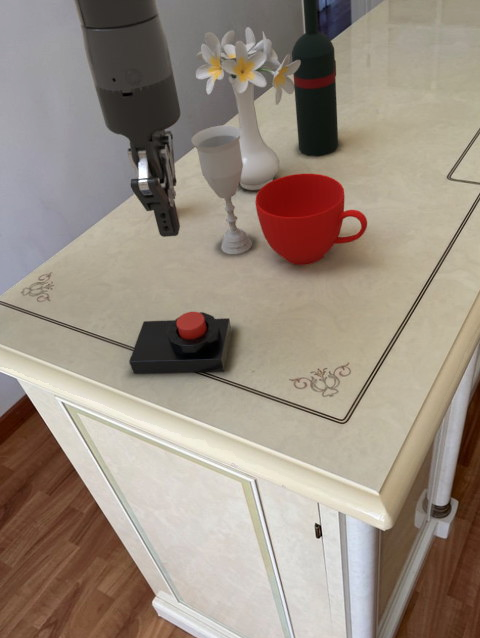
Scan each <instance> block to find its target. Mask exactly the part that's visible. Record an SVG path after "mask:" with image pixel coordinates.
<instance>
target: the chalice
mask: <svg viewBox="0 0 480 638" xmlns="http://www.w3.org/2000/svg"><path fill="white" fill-rule="evenodd" d="M240 135H241V130H240V127H238V126H235V125H229V124H228V125H225V124H224V125H216V126H211V127H207V128H205V129H202V130H199V131H198V132H196V133H195V134H194V135H193V136H192V137H191V143H192V145H193V146H194V147H195V149H196V152H197V155H198V158H199V159H198V160H199V165H200V169H201V173H202V177H204V180H205V181H206V182H207V183H206V184H208V186H209V188H211V190H212V191H213V192H214V194H215V195H216V196H217V197H218V199H219V198H220V199H224V202H225V207H224V211H225V212H226V213H227V217H226V219H225V221H226V222H228V224H229V229H228V230H226V232H225V233H224V235H223V237H222V241H221V246H220V248H221V251H222V252H223V253H225V254H227V255H240V254H243V253H245V252H247V251H248V250H250V249H251V247H252V246H253V241H252V240H251V239H250V238H249V236H248V235H247V233H246V231H244V230H243V228H239V227H237V225H236V224H237V220H238V217H237V216H236V214H235V213H234V211H235V208H236V207H235V205H234V204H233V202H232V197H234V196H235V195H236V194H237V191H238V188H239V185H240V179H241V174H242V168H243V162H242V156H241V150H240V143H239V141H240Z"/></svg>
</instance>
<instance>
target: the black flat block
mask: <svg viewBox="0 0 480 638" xmlns="http://www.w3.org/2000/svg"><path fill="white" fill-rule="evenodd" d="M199 313H201V314H202V315H203V316H204V319H205V323H206V327H207V330H206V332H205V334H204V335H203V336H201V337H199V338H196V339H190V340H186V339H184V338H182V337H181V336H180V334H179V331H178V328H177V324H176V322H177V319H178V318H179V317H180V316H178V317H177V318H175V319H171V320H167V319H166V320H144V321H143V322H142V325H141V328H140V329H139V330H140V331H139V332H138V335H137V339H136V341H135V345H134V347H133V350H132V352H131V356H130V359H129V361H128V363H129V365H130V368H131V370H132V372H133V374H176V373H177V374H178V373H182V374H183V373H215V372H216V373H217V372H220V373H222V372H225V369H226V368H225V367H226V363H227V358H228V352H229V348H230V342H231V337H232V332H233V328H232V325H231V320H230V318H229V317H228V318H227V317H226V318H215V316H213V315H211V314H208V313H206V312H203V311H201V312H199Z"/></svg>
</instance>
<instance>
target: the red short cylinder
mask: <svg viewBox="0 0 480 638" xmlns="http://www.w3.org/2000/svg"><path fill="white" fill-rule="evenodd" d="M178 317H179V318H178ZM178 317H177V318H178V319H177V318H176V319H177V322H176V324H177V328H178V331H179V334H180V336H181V337H182V338H184V339H186V340H190V339H196V338H199V337H201V336H203V335H204V334H205V332H206V330H207V327H206V323H205V319H204V316H203V315H202V314H201V313H199V312H198V311H188V312H184V313H183V314H181V315H180V316H178Z"/></svg>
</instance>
